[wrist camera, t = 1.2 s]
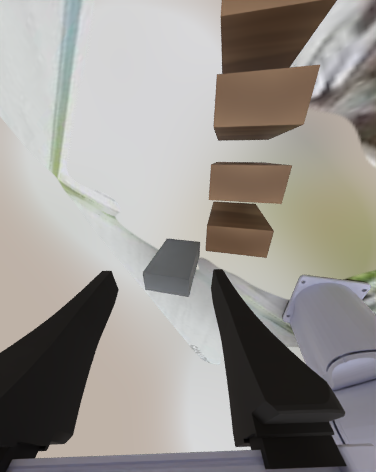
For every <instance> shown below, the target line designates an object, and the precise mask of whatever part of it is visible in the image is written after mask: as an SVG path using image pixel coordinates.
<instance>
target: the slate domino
mask: <svg viewBox="0 0 376 472" xmlns="http://www.w3.org/2000/svg"><path fill="white" fill-rule="evenodd" d="M199 250H200V242H194V241H184V240H175V239H167V240H166V241H165V242H164V244H163V245H162V247H161V248H160V249H159V251H158V252H157V254H156V255H155V256H154V258H153V259H152V261H151V262H150V263H149V265H148V266H147V268H146V269H145V270H144V272H143V278H144V284H145V290H151V291H157V292H163V293H168V294H174V295H180V296H186V297H189V294H190V290H191V286H192V282H193V278H194V275H195V271H196V267H197V263H198V259H199V252H200V251H199Z"/></svg>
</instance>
